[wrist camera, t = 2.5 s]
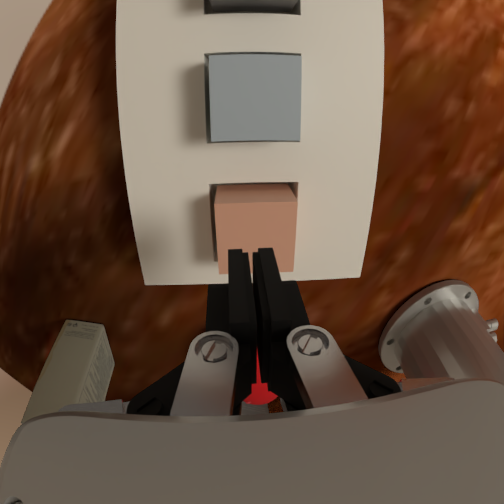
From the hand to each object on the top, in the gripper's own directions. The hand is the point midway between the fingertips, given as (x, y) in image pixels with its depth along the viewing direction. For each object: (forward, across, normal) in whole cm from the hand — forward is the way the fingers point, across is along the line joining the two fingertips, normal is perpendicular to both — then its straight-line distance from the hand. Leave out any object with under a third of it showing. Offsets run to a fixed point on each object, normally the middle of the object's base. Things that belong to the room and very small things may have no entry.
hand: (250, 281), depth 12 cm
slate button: (+7, -1, -7) cm, 10 cm away
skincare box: (+10, +15, +14) cm, 24 cm away
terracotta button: (+7, -1, 0) cm, 7 cm away
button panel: (+10, -1, -6) cm, 12 cm away
